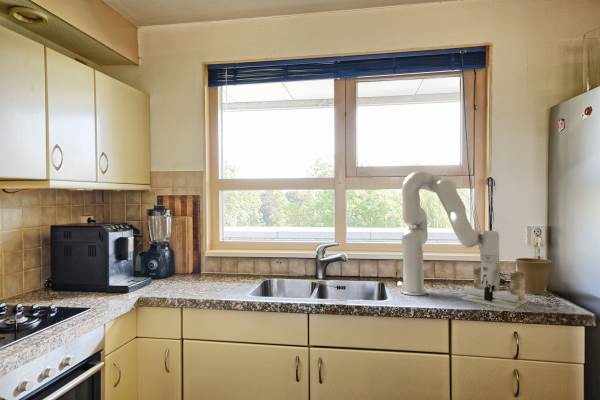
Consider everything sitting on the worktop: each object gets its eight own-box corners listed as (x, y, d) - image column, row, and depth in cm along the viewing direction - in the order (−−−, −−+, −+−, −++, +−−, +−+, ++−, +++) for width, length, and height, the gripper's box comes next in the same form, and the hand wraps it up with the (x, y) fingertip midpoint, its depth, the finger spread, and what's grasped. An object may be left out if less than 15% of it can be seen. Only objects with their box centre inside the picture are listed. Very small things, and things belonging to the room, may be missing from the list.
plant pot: (559, 294, 178) (559, 261, 178) (537, 297, 173) (536, 263, 172) (530, 287, 192) (530, 256, 192) (509, 290, 186) (508, 258, 186)
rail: (464, 292, 173) (463, 286, 173) (466, 291, 175) (466, 285, 175) (516, 302, 157) (516, 295, 157) (518, 300, 159) (518, 294, 159)
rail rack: (471, 295, 178) (470, 268, 178) (477, 292, 184) (477, 266, 184) (522, 304, 162) (522, 274, 162) (528, 301, 167) (528, 272, 167)
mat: (461, 299, 171) (461, 298, 171) (469, 296, 177) (469, 294, 177) (514, 309, 155) (514, 308, 155) (520, 305, 161) (520, 304, 161)
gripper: (491, 261, 158) (491, 305, 158) (505, 257, 169) (505, 297, 169) (473, 259, 163) (473, 301, 163) (488, 255, 174) (488, 294, 174)
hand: (489, 299), depth 166 cm, fingers closed on rail, 2 cm apart
